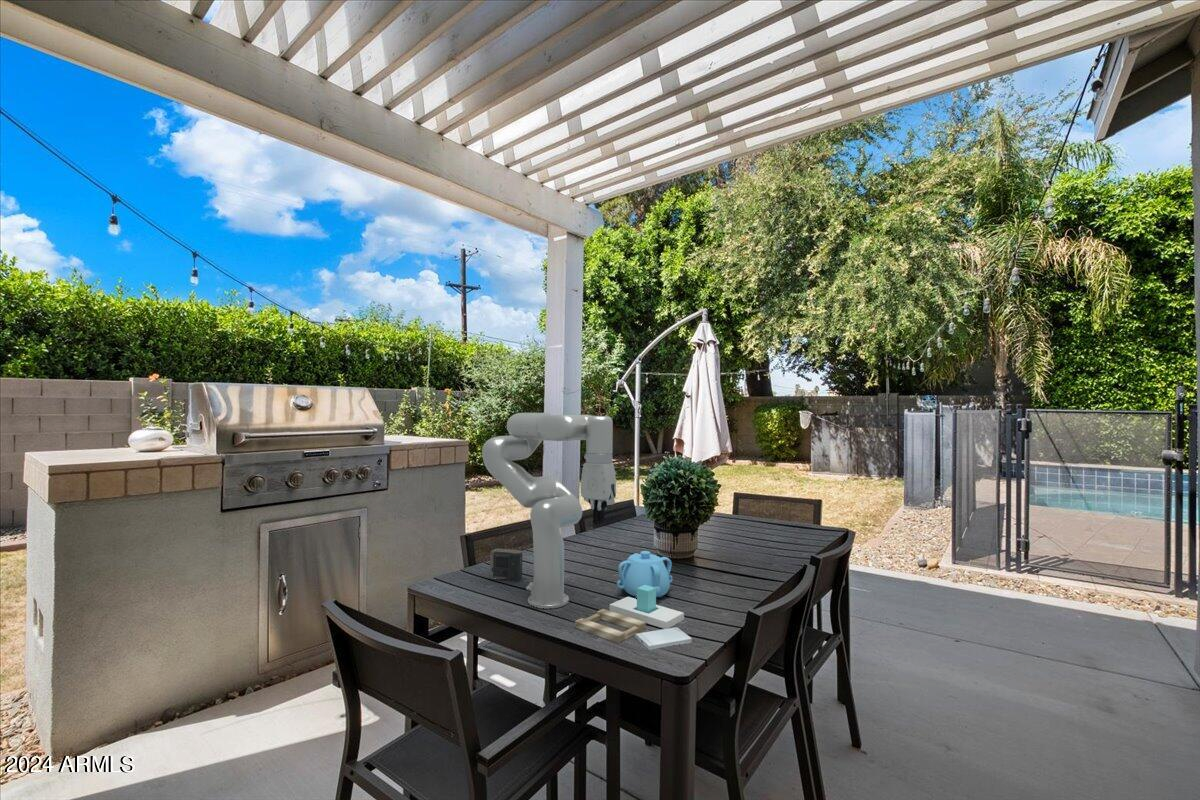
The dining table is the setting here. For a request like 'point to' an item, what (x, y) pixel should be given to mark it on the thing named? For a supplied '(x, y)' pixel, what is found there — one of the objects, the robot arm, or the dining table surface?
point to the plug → (646, 599)
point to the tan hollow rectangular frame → (609, 633)
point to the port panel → (657, 618)
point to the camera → (506, 564)
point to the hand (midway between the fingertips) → (598, 523)
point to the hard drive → (663, 638)
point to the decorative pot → (645, 573)
